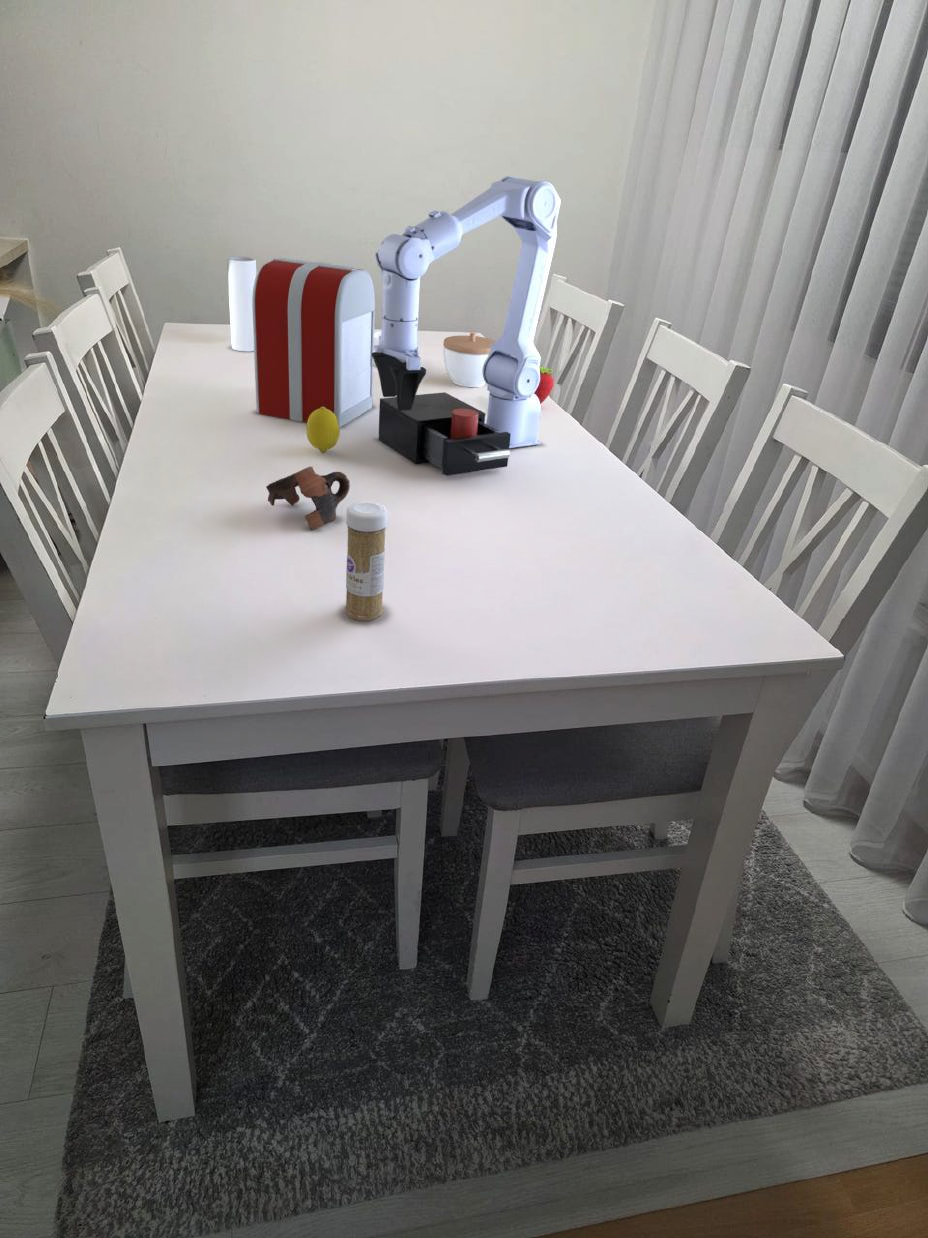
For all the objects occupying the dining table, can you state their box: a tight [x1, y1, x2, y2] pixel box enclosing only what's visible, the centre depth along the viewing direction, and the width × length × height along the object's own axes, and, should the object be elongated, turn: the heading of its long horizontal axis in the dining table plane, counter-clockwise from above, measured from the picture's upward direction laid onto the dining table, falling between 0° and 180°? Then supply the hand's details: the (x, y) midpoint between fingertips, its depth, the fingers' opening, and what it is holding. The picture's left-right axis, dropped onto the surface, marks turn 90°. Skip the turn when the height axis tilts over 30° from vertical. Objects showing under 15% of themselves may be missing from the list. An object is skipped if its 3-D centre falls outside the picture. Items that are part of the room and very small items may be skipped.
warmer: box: [378, 391, 486, 465], centre depth 157 cm, size 14×14×8 cm
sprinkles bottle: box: [344, 501, 388, 622], centre depth 102 cm, size 5×5×13 cm
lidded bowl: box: [443, 331, 496, 388], centre depth 197 cm, size 13×13×11 cm
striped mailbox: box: [252, 257, 376, 429], centre depth 166 cm, size 16×18×27 cm
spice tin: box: [450, 409, 479, 439], centre depth 148 cm, size 4×4×8 cm
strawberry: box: [534, 359, 556, 405], centre depth 184 cm, size 6×8×10 cm
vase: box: [226, 256, 258, 352], centre depth 207 cm, size 11×7×20 cm, turn 104°
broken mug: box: [265, 466, 351, 531], centre depth 128 cm, size 12×10×8 cm
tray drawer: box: [420, 420, 511, 477], centre depth 149 cm, size 17×12×6 cm
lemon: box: [306, 407, 340, 454], centre depth 150 cm, size 6×6×8 cm
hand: (396, 402), depth 146 cm, fingers open, 7 cm apart
